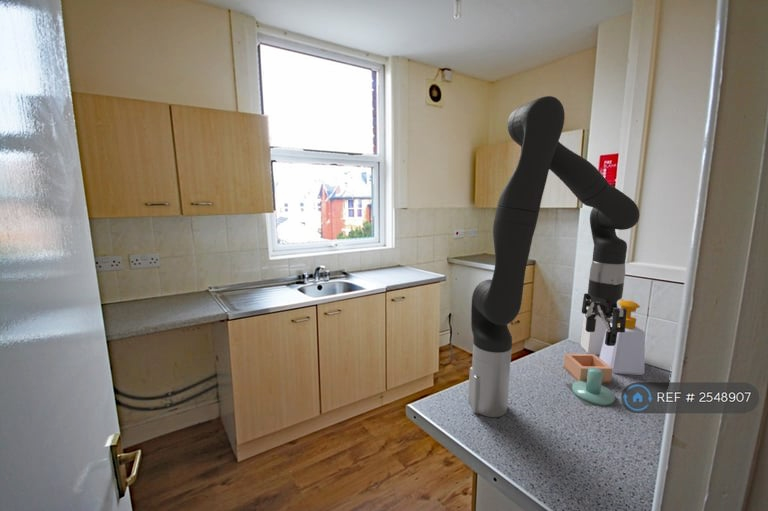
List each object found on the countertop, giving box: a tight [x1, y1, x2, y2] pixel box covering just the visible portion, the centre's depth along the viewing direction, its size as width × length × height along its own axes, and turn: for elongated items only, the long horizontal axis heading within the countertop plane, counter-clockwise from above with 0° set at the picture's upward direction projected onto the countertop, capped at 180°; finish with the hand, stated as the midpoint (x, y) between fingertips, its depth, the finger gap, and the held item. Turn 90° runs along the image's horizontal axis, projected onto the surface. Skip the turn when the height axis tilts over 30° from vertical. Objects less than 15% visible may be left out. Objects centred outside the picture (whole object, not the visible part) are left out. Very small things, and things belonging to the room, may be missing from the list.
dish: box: [563, 353, 613, 384], centre depth 102 cm, size 9×9×5 cm
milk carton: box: [580, 306, 613, 356], centre depth 118 cm, size 7×7×19 cm
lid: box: [571, 367, 616, 405], centre depth 92 cm, size 10×10×7 cm
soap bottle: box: [598, 298, 646, 376], centre depth 108 cm, size 10×14×22 cm
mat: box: [564, 383, 624, 407], centre depth 93 cm, size 10×10×1 cm
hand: (599, 338), depth 90 cm, fingers open, 8 cm apart
